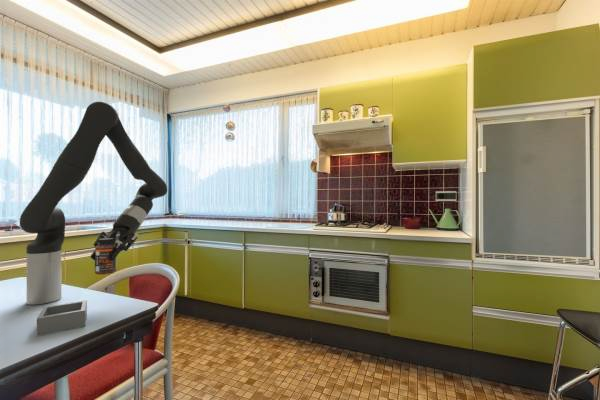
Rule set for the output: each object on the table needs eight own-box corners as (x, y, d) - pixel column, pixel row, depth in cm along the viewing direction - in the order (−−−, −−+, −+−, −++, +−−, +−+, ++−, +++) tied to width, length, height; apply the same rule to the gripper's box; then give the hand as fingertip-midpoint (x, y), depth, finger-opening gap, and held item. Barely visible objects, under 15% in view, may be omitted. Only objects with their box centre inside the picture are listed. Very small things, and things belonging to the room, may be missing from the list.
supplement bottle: (97, 276, 91) (97, 240, 91) (92, 273, 95) (92, 238, 95) (119, 272, 95) (118, 238, 95) (113, 269, 99) (113, 236, 99)
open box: (43, 322, 82) (43, 307, 82) (86, 314, 88) (86, 300, 88) (36, 336, 74) (36, 318, 74) (85, 326, 80) (85, 310, 80)
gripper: (108, 213, 104) (75, 251, 92) (141, 213, 100) (112, 253, 89) (120, 226, 109) (91, 264, 97) (152, 227, 106) (126, 266, 94)
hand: (101, 259), depth 93 cm, fingers closed on supplement bottle, 6 cm apart
